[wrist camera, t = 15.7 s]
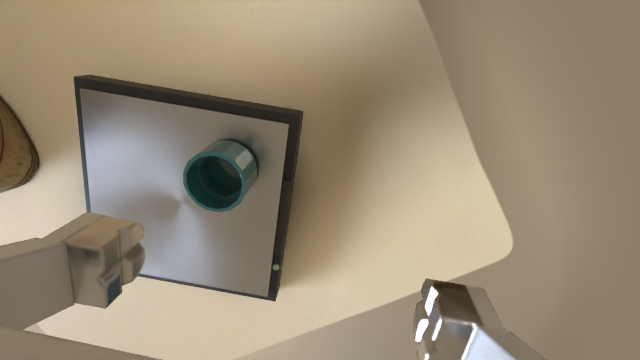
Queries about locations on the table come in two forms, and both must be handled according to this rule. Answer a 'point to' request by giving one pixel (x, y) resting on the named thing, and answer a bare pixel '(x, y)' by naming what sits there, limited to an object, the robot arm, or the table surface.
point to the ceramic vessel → (14, 152)
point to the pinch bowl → (220, 176)
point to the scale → (167, 180)
